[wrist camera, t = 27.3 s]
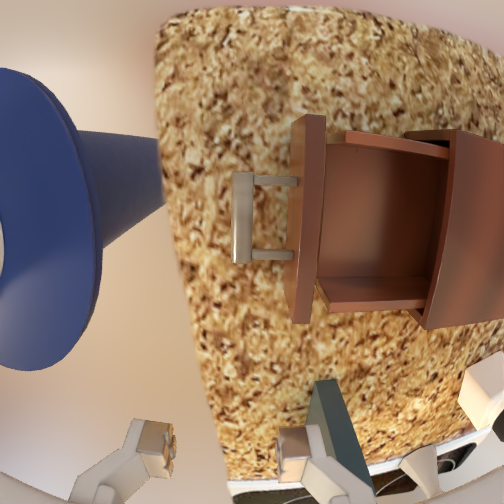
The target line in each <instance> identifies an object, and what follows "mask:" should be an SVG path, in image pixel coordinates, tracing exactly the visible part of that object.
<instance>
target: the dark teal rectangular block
mask: <svg viewBox="0 0 504 504" xmlns="http://www.w3.org/2000/svg"><path fill="white" fill-rule="evenodd" d="M314 424H318V425H319V427H320V431H321V435H322V439H323V443H324V447H325V451H326V455H327V456H331V457H332V458H334V459H335V460H336V461H337V462H339V463H340V464H341V465H342V466H344V467H345V468H346V469H347V470H349V471H350V472H351V473H352V474H354V475H355V476H356V477H358V478H359V479H360V480H361V481H363V482H364V483H365V484H367V485H368V486H369V487H371V488H372V490H373V493H374V497H375V496H376V492H375V489H374V486H373V483H372V480H371V477H370V474H369V471H368V468H367V465H366V462H365V459H364V456H363V453H362V451H361V448H360V445H359V442H358V439H357V436H356V433H355V431H354V428H353V425H352V422H351V419H350V417H349V414H348V411H347V408H346V406H345V403H344V400H343V397H342V395H341V392H340V389H339V387H338V384H337V381H336V380H326V381H315V383H314V388H313V393H312V398H311V402H310V407H309V412H308V416H307V421H306V425H314Z"/></svg>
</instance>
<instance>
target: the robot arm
mask: <svg viewBox="0 0 504 504" xmlns="http://www.w3.org/2000/svg"><path fill="white" fill-rule="evenodd" d="M3 262H4V239H3V231H2V226H1V221H0V276H1V273H2V269H3ZM277 437H278V438H277V439H276V446H275V454H276V461H277V462H278V467H277V474H278V483H290V482H301V484H302V485H303V486H304V487H305V488H306V489H307V490H308V492H309V493H310V494H311V495H312V496H313V497H314V498H315V499H316V500H317V501H318V502H319V503H320V504H377V503H376V500H375V497H374V493H373V490H372V488H371V487H369V486H368V485H367V484H365V483H364V482H363V481H361V480H360V479H359V478H358V477H356V476H355V475H354V474H352V473H351V472H350V471H349V470H347V469H346V468H345V467H344V466H342V465H341V464H340V463H339V462H337V461H336V460H335V459H334V458H332V457H331V456H327V455H326V451H325V447H324V443H323V439H322V435H321V431H320V427H319V425H318V424H314V425H298V426H282V427H278V429H277ZM175 455H176V438H175V435H173V426H172V424H169V423H162V422H155V421H148V420H141V419H135V418H134V419H133V420H132V421H131V424H130V427H129V430H128V432H127V435H126V439H125V441H124V444H123V447H122V449H117V450H116V451H114V452H113V453H111V454H110V455H108V456H107V457H106V458H104V459H103V460H101V461H100V462H98V463H97V464H95V465H94V466H92V467H91V468H90V469H88V470H86V471H85V472H84V473H82V474H81V475H79V476H77V479H76V482H75V484H74V487H73V489H72V492H71V494H70V497H69V499H68V501H66V500H64V499H61V498H58V497H56V496H53V495H51V494H48V493H46V492H43V491H41V490H39V489H36V488H34V487H32V486H29V485H27V484H25V483H23V482H21V481H19V480H17V479H15V478H13V477H11V476H9V475H7V474H5V473H3V472H1V471H0V504H124V502H125V501H126V500H128V498H130V497H131V496H132V495H133V494H134V493H135V492H136V491H137V490H138V489H139V488H140V487H141V486H142V485H143V484H144V483H145V482H146V481H147V480H148V479H149V478H150V477H157V478H165V479H171V477H172V472H173V462H172V459H174V458H175ZM416 504H504V465H502V466H500V467H497V468H496V469H494V470H492V471H490V472H489V473H487V474H485V475H483V476H481V477H479V478H477V479H475V480H472V481H470V482H468V483H466V484H464V485H462V486H460V487H457V488H455V489H453V490H450V491H448V492H445V493H443V494H441V495H438V496H435V497H433V498H430V499H427V500H425V501H422V502H419V503H416Z"/></svg>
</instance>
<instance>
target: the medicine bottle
mask: <svg viewBox="0 0 504 504" xmlns="http://www.w3.org/2000/svg"><path fill="white" fill-rule="evenodd" d="M458 403H459V405H460V406H461V407H462V409H463V410H464V412H465V413H466V415H467V416H468V417H469V419H470V420H471V422H472V423H473V425H474V426H475V428H476V429H477V430H478V431H480V430H482V429H484V428H485V427H487V426H489V425H490V426H491V428H492V429H493V431H494V432H495V433H496V435H497V436H498V438H499V439H500V441H502V442H504V353H503V352H502V351H498V352H496V353H494V354H493V355H491V356H489V357H487V358H485V359H483V360H481V361H479V362H478V363H476V364H474V365H472V366H470V367H468V368H466V370H465V374H464V379H463V382H462V386H461V390H460V394H459V397H458Z"/></svg>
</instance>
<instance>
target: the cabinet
mask: <svg viewBox="0 0 504 504" xmlns="http://www.w3.org/2000/svg"><path fill="white" fill-rule="evenodd" d="M405 139H409V140H414V141H419V142H424V143H429V144H433V145H438V146H442V147H447V148H450V153H449V169H448V181H447V192H446V201H445V209H444V216H443V223H442V230H441V236H440V242H439V247H438V253H437V258H436V263H435V268H434V272H433V277H432V281H431V286H430V290H429V294H428V298H427V302H426V306H425V308H416V309H406V310H407V311H408V312H409V313H410V314H411V316H412V317H413V318H414V319H415V320H416V321H417V322H418V323H419V324H420V326H421V327H422V328H423V329H424V330H428V329H437V328H445V327H452V326H459V325H466V324H473V323H479V322H485V321H491V320H497V319H503V318H504V144H501V143H498V142H496V141H493V140H490V139H487V138H484V137H481V136H478V135H474V134H471V133H468V132H465V131H461V130H458V129H444V130H422V131H408V132H405Z"/></svg>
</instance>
